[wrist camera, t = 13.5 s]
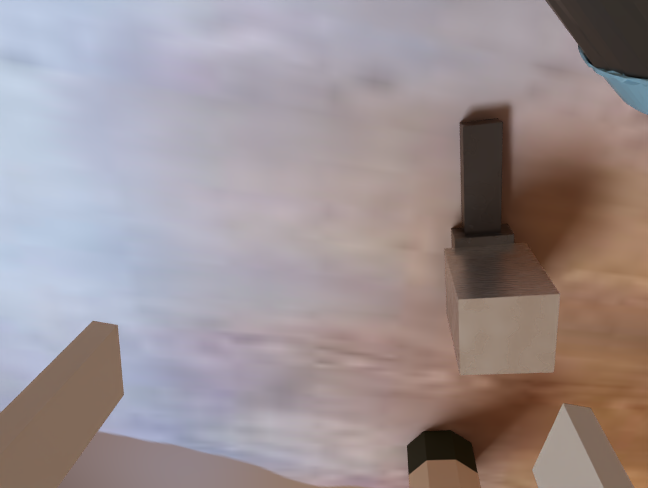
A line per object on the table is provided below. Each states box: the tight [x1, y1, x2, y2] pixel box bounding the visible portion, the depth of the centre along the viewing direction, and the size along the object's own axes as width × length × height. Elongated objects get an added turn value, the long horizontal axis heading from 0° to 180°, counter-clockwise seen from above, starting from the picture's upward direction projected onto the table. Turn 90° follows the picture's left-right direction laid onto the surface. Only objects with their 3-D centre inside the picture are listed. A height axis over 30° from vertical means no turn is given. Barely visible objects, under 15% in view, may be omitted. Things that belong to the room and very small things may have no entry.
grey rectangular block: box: [444, 243, 560, 375], centre depth 40 cm, size 7×7×9 cm
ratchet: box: [451, 118, 514, 248], centre depth 41 cm, size 19×5×6 cm, turn 8°
